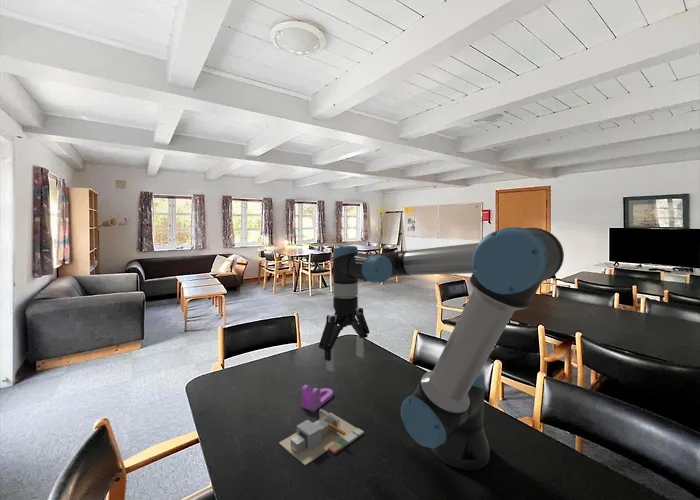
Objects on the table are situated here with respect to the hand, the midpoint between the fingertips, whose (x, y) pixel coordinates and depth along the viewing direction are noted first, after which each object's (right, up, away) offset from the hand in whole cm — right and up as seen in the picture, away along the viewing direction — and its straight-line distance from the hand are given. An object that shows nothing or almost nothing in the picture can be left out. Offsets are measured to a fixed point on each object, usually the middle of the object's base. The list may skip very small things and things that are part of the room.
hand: (345, 363), depth 100 cm
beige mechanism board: (-7, -19, -7) cm, 22 cm away
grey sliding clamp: (-8, -19, -10) cm, 23 cm away
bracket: (-10, -18, +13) cm, 24 cm away
